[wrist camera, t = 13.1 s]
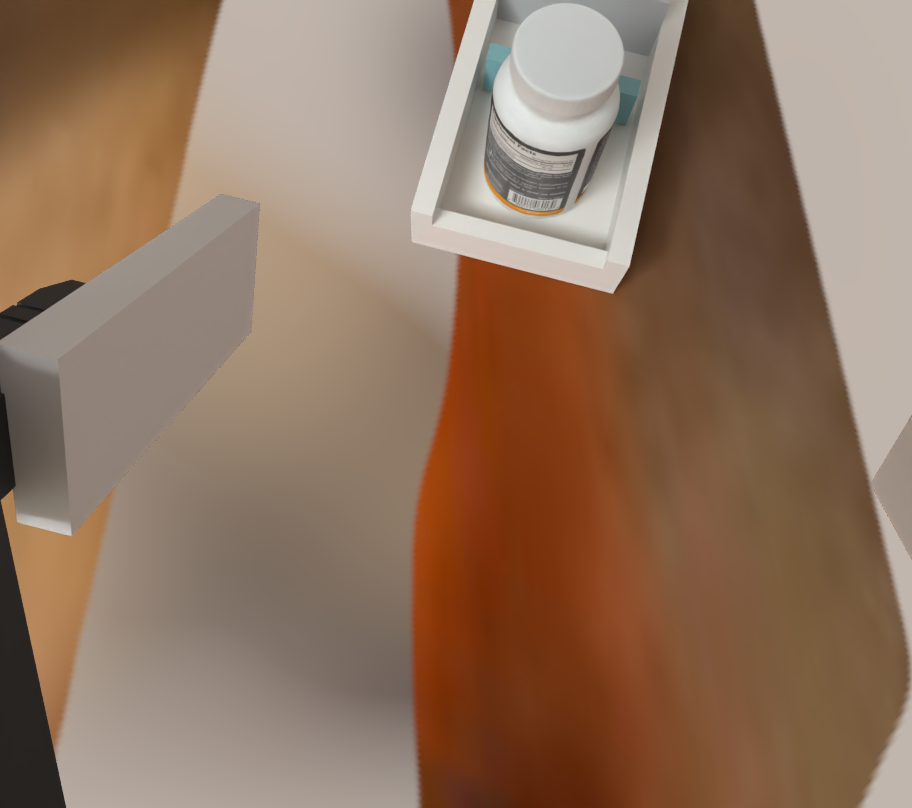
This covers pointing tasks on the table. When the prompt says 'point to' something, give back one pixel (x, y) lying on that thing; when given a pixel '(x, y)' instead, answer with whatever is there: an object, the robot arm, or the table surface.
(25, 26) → the table surface
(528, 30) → the pill bottle
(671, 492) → the table surface
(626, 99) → the pusher plate
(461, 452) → the table surface
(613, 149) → the pusher lane
